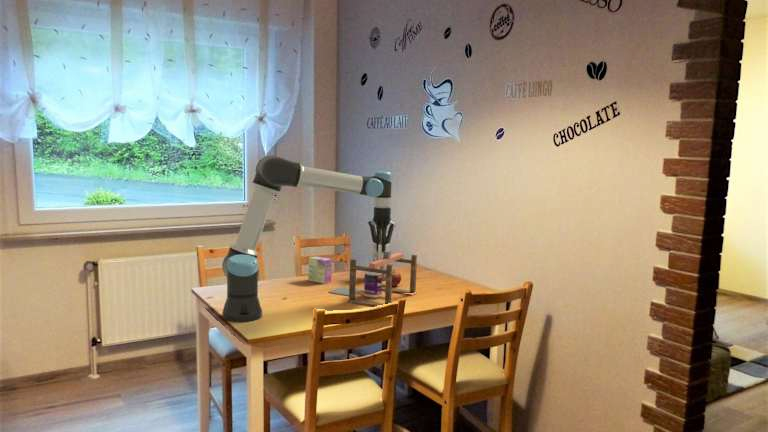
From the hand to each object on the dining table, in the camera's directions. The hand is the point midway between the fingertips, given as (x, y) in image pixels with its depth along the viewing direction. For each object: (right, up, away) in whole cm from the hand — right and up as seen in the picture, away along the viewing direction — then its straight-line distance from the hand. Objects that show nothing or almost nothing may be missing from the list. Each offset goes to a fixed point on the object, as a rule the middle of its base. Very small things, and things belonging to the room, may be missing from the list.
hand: (380, 258), depth 260 cm
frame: (+1, -18, +1) cm, 18 cm away
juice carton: (-1, -13, +39) cm, 41 cm away
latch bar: (+3, -1, -1) cm, 3 cm away
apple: (+6, -15, +24) cm, 29 cm away
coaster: (-16, -16, +10) cm, 25 cm away
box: (-30, -13, +28) cm, 43 cm away
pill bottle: (-4, -17, +4) cm, 18 cm away
